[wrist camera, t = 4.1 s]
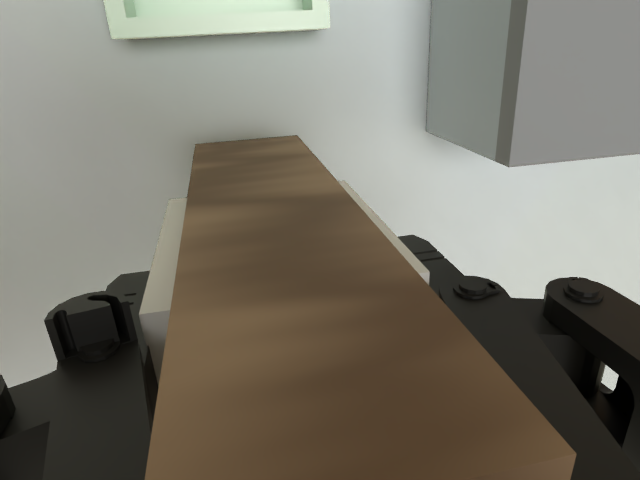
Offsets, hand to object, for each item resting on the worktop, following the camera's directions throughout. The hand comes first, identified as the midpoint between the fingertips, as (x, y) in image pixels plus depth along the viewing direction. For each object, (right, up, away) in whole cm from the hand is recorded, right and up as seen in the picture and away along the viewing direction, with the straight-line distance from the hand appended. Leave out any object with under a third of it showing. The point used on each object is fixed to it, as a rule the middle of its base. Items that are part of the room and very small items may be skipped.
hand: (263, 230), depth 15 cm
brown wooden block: (-1, +2, +4) cm, 5 cm away
